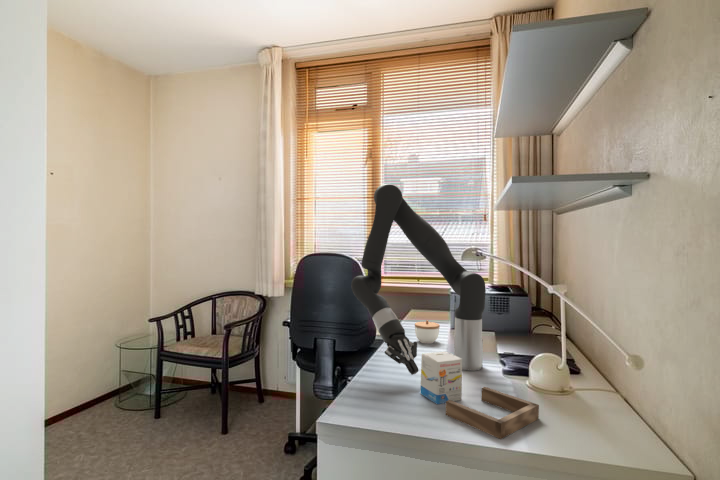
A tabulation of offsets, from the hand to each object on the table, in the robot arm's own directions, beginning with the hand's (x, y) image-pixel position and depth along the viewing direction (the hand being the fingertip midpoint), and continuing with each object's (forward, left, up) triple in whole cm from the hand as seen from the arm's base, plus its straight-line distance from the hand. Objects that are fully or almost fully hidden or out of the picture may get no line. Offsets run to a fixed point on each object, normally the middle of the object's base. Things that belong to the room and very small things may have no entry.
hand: (415, 372), depth 121 cm
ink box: (0, +10, -4) cm, 11 cm away
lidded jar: (-44, -34, -4) cm, 56 cm away
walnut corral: (0, +25, -4) cm, 26 cm away
